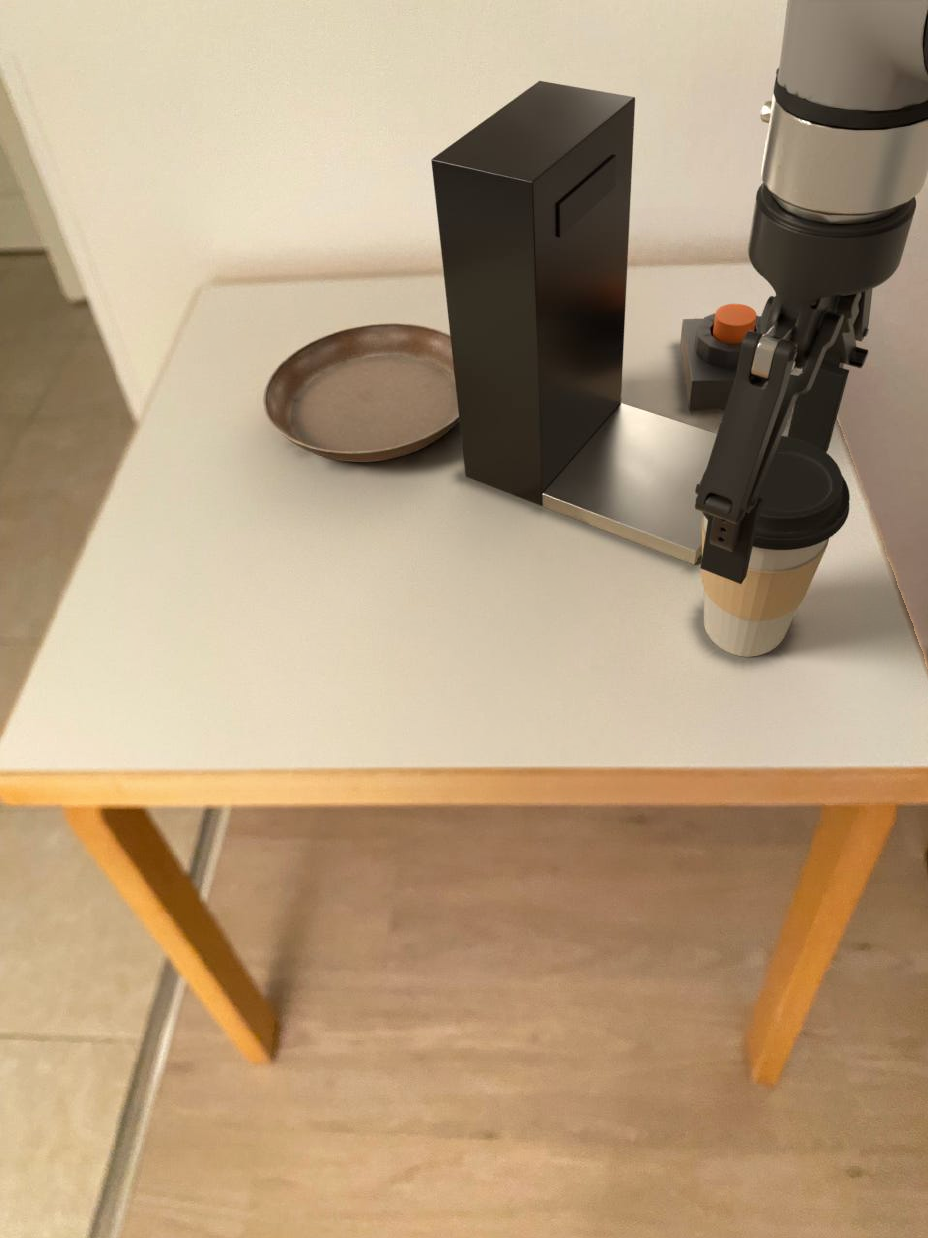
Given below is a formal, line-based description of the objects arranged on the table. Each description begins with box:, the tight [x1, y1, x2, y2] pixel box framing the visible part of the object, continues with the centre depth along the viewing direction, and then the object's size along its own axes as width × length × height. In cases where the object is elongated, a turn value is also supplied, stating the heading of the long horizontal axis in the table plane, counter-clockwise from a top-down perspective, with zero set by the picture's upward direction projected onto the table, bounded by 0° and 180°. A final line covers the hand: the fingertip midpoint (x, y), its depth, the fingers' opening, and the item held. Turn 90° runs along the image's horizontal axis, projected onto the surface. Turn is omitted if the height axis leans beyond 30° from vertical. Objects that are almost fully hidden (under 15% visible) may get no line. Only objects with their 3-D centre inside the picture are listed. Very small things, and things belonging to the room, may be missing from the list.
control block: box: [679, 312, 761, 411], centre depth 91 cm, size 10×8×5 cm
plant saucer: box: [262, 322, 460, 463], centre depth 92 cm, size 21×21×3 cm
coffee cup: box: [700, 435, 851, 658], centre depth 67 cm, size 9×9×15 cm
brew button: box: [713, 303, 757, 344], centre depth 88 cm, size 4×4×2 cm
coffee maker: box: [431, 80, 717, 565], centre depth 75 cm, size 22×14×28 cm, turn 56°
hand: (767, 506), depth 63 cm, fingers open, 13 cm apart
